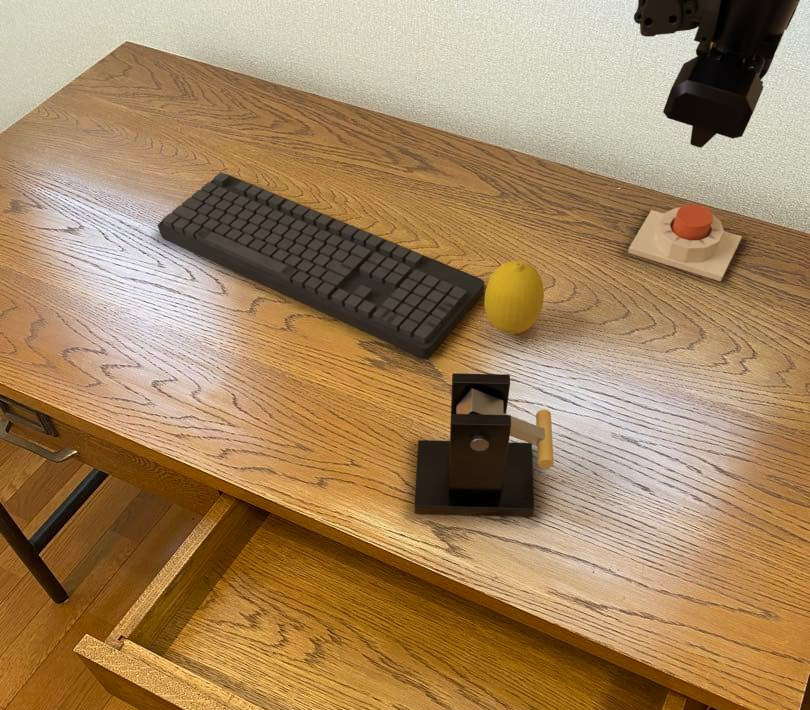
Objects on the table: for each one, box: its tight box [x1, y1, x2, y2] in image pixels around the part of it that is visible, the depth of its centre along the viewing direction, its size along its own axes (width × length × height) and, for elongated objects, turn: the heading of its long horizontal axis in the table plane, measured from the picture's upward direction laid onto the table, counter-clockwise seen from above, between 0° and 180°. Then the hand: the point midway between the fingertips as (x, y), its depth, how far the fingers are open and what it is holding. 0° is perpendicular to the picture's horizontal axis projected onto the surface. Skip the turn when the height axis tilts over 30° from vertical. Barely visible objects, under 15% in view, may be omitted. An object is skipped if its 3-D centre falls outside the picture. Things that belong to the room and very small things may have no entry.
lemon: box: [484, 260, 545, 335], centre depth 70 cm, size 6×6×8 cm
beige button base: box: [627, 207, 743, 282], centre depth 78 cm, size 10×7×2 cm
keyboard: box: [157, 171, 485, 359], centre depth 79 cm, size 35×11×2 cm, turn 57°
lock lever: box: [456, 388, 555, 469], centre depth 58 cm, size 8×5×2 cm, turn 87°
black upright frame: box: [414, 373, 535, 518], centre depth 60 cm, size 10×7×11 cm
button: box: [673, 204, 714, 241], centre depth 77 cm, size 4×4×2 cm
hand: (696, 144), depth 66 cm, fingers closed
